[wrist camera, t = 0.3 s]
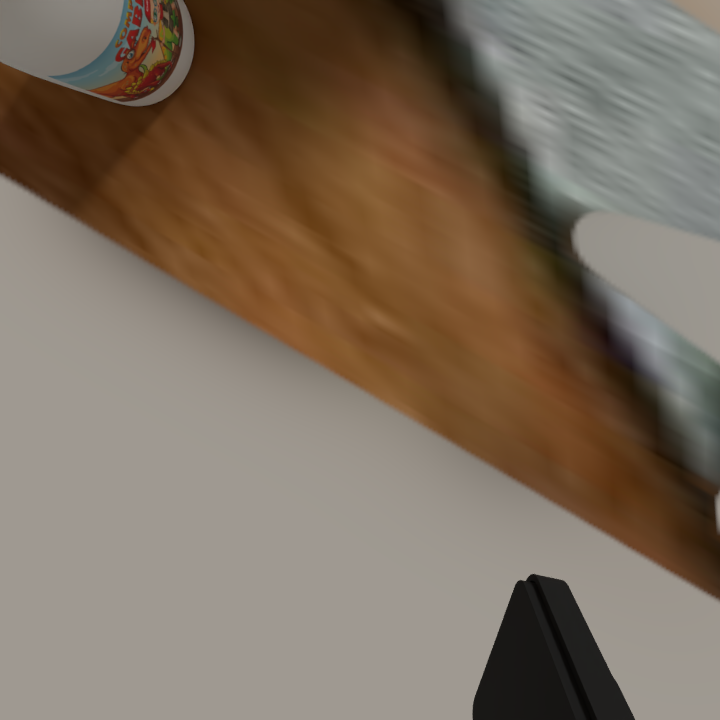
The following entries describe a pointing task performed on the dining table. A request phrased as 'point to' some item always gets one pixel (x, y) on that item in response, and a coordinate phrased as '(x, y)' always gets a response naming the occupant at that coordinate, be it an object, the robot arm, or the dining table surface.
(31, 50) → the milk bottle
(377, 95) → the dining table surface
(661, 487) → the dining table surface
